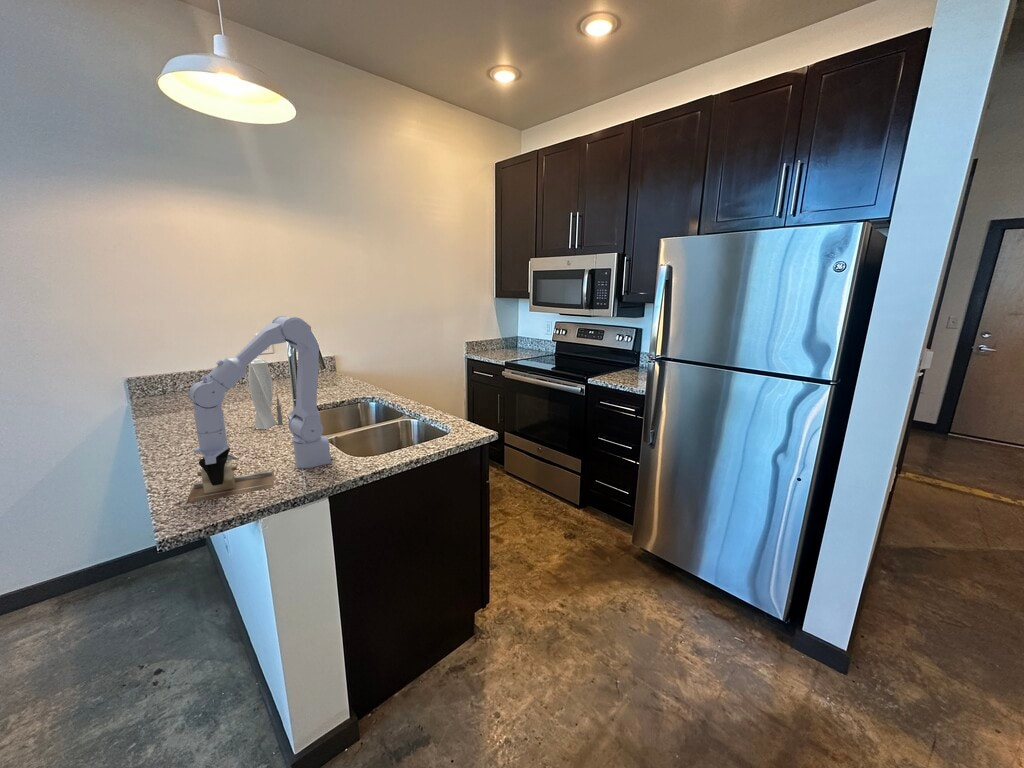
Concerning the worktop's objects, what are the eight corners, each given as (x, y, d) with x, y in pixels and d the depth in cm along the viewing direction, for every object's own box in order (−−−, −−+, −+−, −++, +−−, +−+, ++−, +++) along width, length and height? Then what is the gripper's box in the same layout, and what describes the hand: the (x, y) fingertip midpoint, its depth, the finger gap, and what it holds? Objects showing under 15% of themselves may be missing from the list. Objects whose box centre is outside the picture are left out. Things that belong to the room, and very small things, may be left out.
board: (274, 475, 115) (273, 466, 115) (274, 492, 105) (273, 483, 105) (195, 488, 107) (194, 479, 106) (186, 509, 97) (184, 499, 96)
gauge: (239, 481, 108) (236, 460, 107) (238, 487, 104) (235, 465, 103) (201, 487, 104) (198, 465, 103) (199, 494, 101) (195, 471, 99)
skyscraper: (267, 432, 151) (258, 357, 145) (249, 430, 153) (239, 356, 147) (284, 425, 159) (276, 354, 153) (266, 424, 161) (258, 353, 155)
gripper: (196, 423, 105) (203, 473, 108) (185, 441, 93) (194, 496, 96) (229, 420, 109) (235, 468, 111) (222, 436, 96) (230, 489, 99)
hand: (218, 480), depth 104 cm, fingers closed on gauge, 4 cm apart
